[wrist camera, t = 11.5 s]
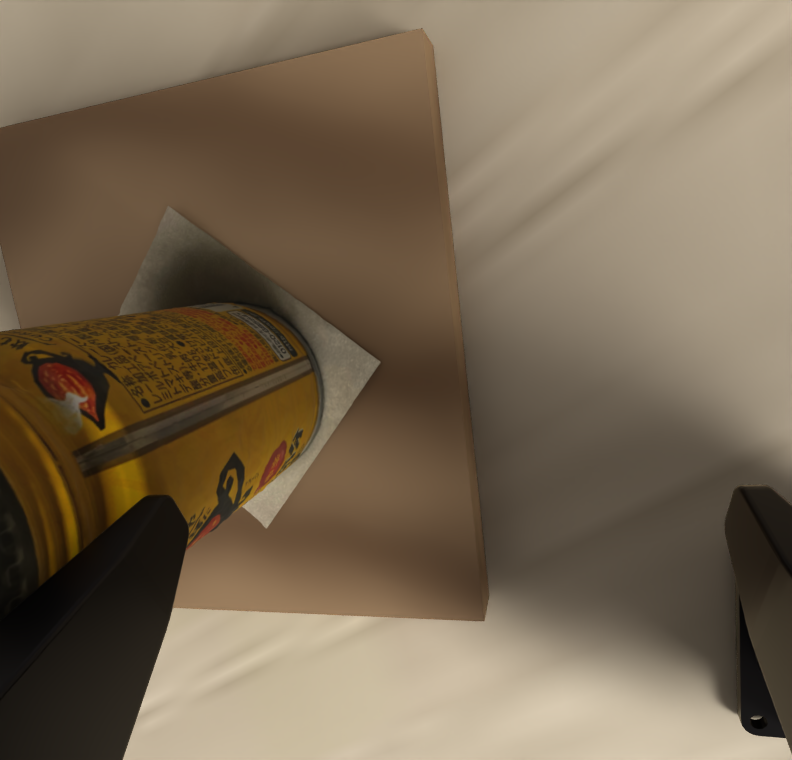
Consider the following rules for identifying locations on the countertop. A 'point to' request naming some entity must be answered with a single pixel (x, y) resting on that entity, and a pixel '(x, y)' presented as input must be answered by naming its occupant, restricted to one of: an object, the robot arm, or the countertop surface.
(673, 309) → the countertop surface
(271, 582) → the walnut board
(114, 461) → the condiment
